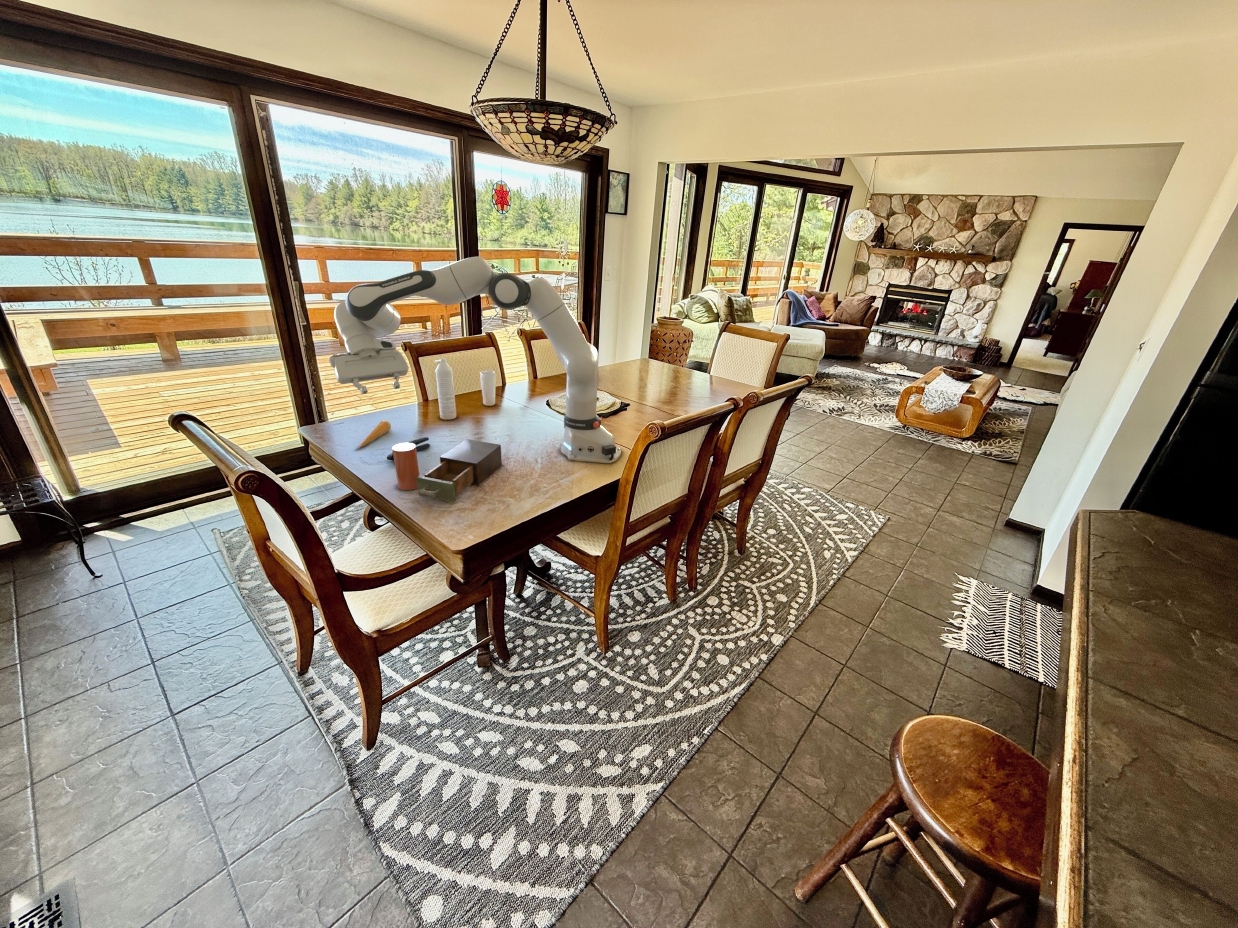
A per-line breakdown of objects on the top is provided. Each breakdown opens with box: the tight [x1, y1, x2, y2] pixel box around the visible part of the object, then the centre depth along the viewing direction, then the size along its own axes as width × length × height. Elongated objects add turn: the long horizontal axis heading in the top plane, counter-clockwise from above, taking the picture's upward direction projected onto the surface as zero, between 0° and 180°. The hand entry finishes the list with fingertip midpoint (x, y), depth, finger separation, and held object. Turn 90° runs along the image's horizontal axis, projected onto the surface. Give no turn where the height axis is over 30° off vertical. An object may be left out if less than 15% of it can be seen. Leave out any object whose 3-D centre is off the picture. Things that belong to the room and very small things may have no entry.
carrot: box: [357, 420, 392, 450], centre depth 176 cm, size 20×4×4 cm, turn 174°
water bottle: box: [434, 357, 457, 421], centre depth 195 cm, size 9×6×25 cm
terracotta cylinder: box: [391, 442, 421, 491], centre depth 145 cm, size 6×6×13 cm
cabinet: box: [439, 438, 503, 487], centre depth 157 cm, size 16×13×8 cm
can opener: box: [386, 436, 431, 462], centre depth 166 cm, size 18×7×6 cm, turn 159°
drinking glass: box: [479, 369, 497, 407], centre depth 216 cm, size 7×7×15 cm
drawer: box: [416, 460, 475, 503], centre depth 143 cm, size 19×12×6 cm, turn 165°
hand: (381, 390), depth 144 cm, fingers open, 8 cm apart
